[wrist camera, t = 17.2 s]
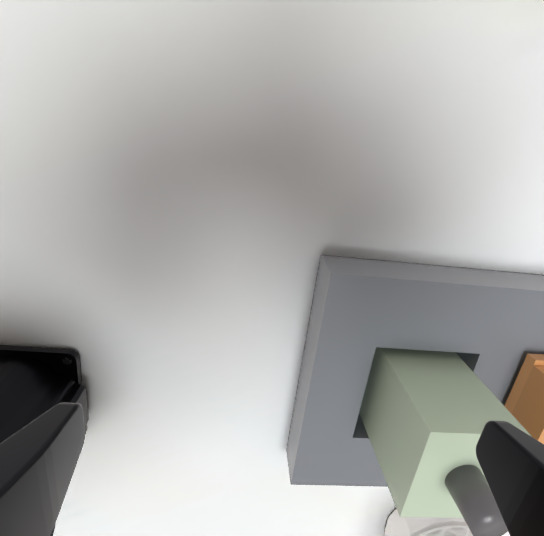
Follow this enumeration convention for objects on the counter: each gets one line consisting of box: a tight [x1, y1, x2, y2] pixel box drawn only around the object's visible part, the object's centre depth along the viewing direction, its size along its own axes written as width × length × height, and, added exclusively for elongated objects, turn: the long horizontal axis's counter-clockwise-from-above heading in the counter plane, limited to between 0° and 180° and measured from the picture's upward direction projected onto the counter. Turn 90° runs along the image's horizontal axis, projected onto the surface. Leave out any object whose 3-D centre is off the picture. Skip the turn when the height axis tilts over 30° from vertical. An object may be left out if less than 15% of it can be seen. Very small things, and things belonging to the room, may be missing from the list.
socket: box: [287, 255, 544, 486], centre depth 22 cm, size 15×14×2 cm
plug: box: [359, 347, 531, 536], centre depth 18 cm, size 4×5×9 cm
